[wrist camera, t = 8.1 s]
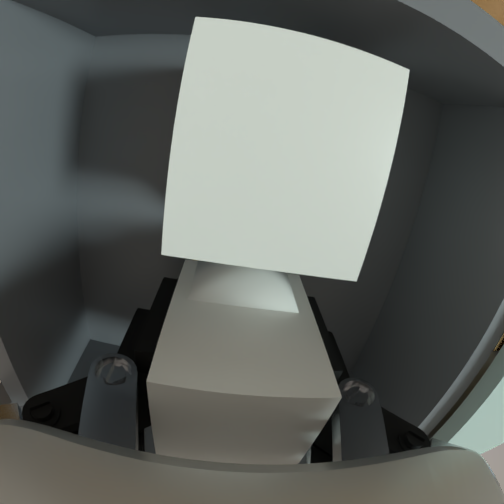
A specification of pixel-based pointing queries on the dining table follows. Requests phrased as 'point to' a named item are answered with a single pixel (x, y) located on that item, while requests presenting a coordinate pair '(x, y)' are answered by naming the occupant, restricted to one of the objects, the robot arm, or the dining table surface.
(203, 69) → the block
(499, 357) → the lid
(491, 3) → the dining table surface
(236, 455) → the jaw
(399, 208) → the housing
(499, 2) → the dining table surface
